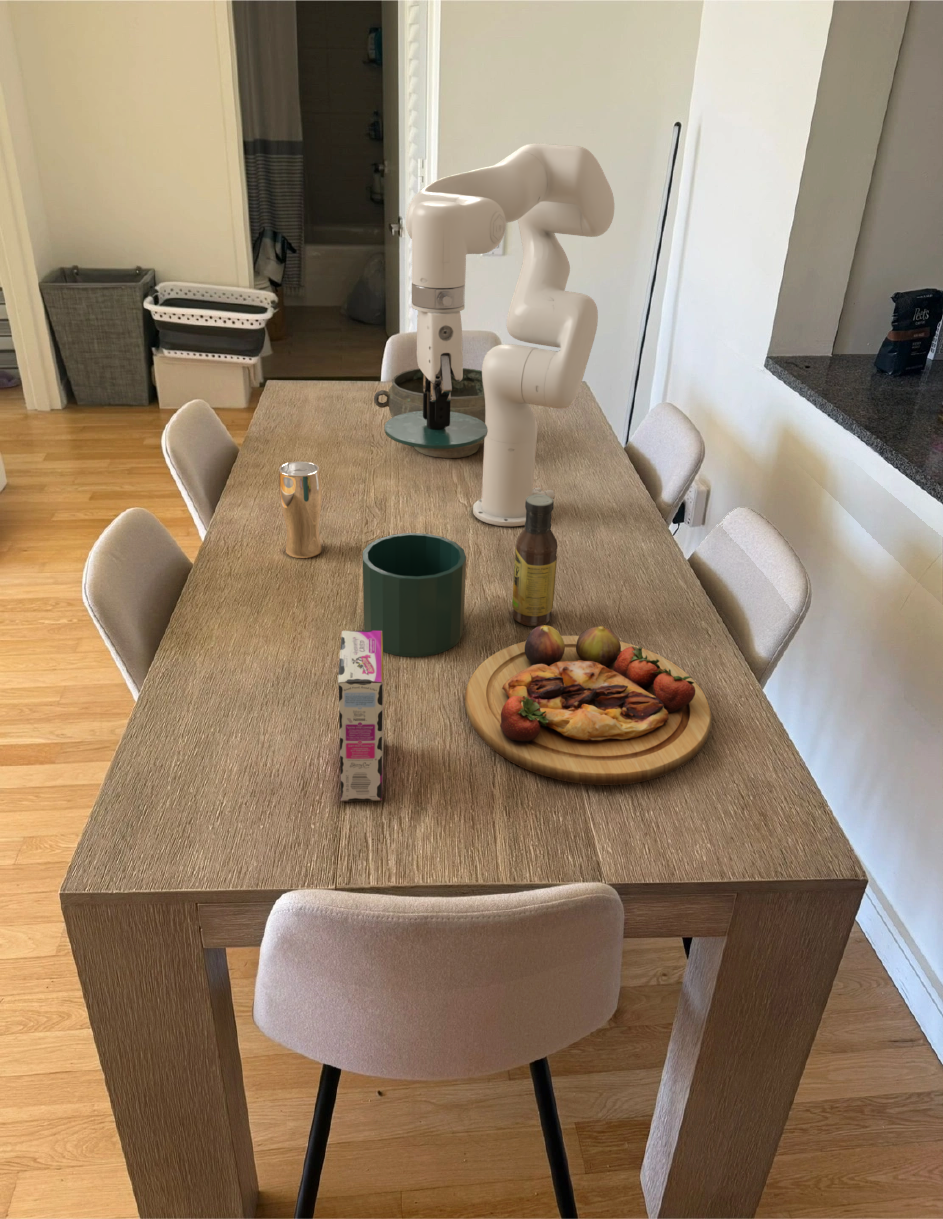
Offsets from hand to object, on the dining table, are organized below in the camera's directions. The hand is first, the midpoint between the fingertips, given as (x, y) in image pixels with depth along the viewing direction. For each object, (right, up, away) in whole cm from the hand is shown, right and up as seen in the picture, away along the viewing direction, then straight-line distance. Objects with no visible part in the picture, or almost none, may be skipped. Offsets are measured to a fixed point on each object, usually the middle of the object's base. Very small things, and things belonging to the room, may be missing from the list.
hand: (436, 421), depth 143 cm
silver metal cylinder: (-24, -18, +20) cm, 36 cm away
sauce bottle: (+14, -30, +3) cm, 33 cm away
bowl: (0, +8, +67) cm, 68 cm away
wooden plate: (+20, -42, -18) cm, 50 cm away
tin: (-3, -32, -2) cm, 32 cm away
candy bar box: (-8, -48, -30) cm, 57 cm away
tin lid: (0, -1, +1) cm, 1 cm away
